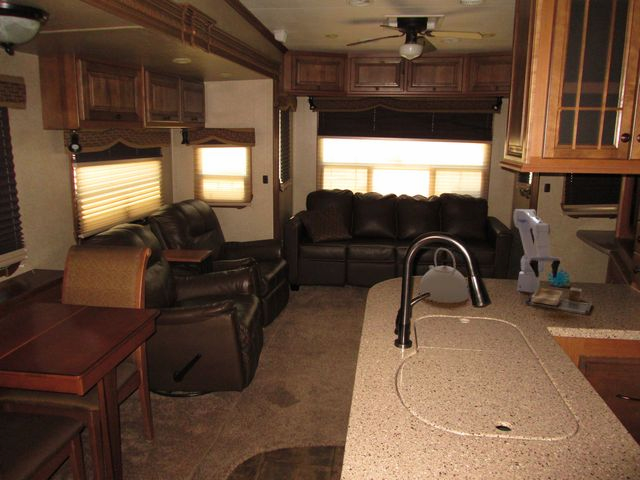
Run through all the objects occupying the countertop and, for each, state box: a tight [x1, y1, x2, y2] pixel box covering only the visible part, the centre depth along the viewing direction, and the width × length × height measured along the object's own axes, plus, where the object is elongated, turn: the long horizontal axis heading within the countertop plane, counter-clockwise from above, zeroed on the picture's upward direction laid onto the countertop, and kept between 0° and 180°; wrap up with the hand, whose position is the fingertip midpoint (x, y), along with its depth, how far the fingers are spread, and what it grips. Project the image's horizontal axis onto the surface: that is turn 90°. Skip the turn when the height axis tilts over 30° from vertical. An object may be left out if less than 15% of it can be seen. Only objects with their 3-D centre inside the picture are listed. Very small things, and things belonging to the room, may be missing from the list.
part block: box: [568, 287, 583, 302], centre depth 238 cm, size 4×4×5 cm
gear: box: [547, 268, 573, 288], centre depth 261 cm, size 11×6×10 cm
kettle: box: [418, 247, 469, 304], centre depth 243 cm, size 25×23×22 cm
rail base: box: [525, 292, 593, 316], centre depth 231 cm, size 25×16×2 cm, turn 57°
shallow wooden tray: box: [531, 287, 564, 306], centre depth 233 cm, size 11×16×3 cm
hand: (546, 277), depth 231 cm, fingers open, 7 cm apart
